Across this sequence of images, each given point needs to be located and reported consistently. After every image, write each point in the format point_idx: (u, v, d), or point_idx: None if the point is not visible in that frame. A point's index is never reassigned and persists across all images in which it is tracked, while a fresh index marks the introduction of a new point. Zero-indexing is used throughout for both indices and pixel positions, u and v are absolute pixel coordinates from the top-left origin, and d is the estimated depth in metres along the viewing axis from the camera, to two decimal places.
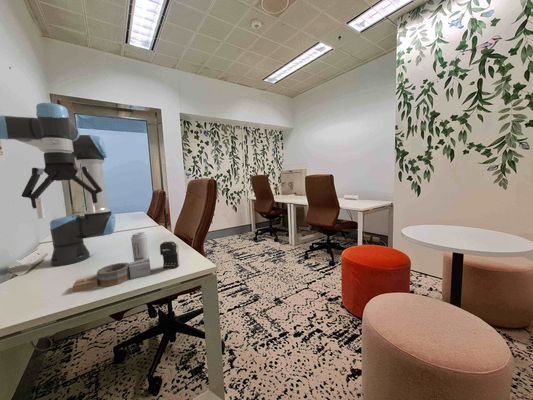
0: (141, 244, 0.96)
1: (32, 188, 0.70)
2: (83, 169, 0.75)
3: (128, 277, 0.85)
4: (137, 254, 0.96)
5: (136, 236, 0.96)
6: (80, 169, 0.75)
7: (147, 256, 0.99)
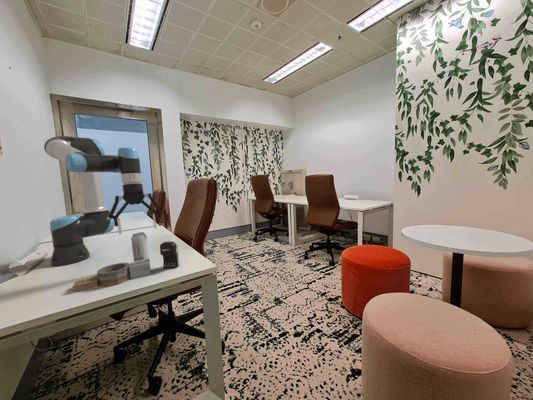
0: (141, 244, 0.96)
1: (114, 211, 0.93)
2: (149, 195, 0.98)
3: (128, 277, 0.85)
4: (137, 254, 0.96)
5: (136, 236, 0.96)
6: (147, 195, 0.98)
7: (147, 256, 0.99)
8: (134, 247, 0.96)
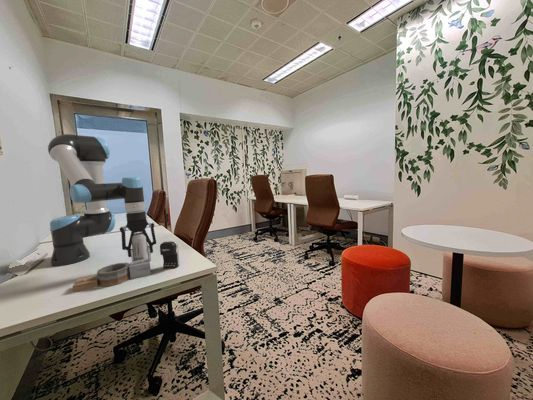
0: (141, 244, 0.96)
1: (125, 241, 0.96)
2: (152, 225, 0.99)
3: (128, 277, 0.85)
4: (137, 254, 0.96)
5: (136, 236, 0.96)
6: (149, 224, 1.00)
7: (147, 256, 0.99)
8: (134, 247, 0.96)
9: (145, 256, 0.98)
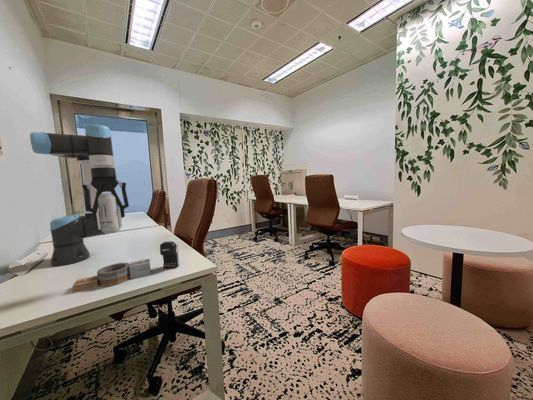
0: (109, 206, 0.81)
1: (90, 202, 0.81)
2: (123, 184, 0.85)
3: (128, 277, 0.85)
4: (104, 217, 0.81)
5: (103, 196, 0.81)
6: (120, 183, 0.85)
7: (117, 221, 0.84)
8: (100, 209, 0.81)
9: (114, 220, 0.83)
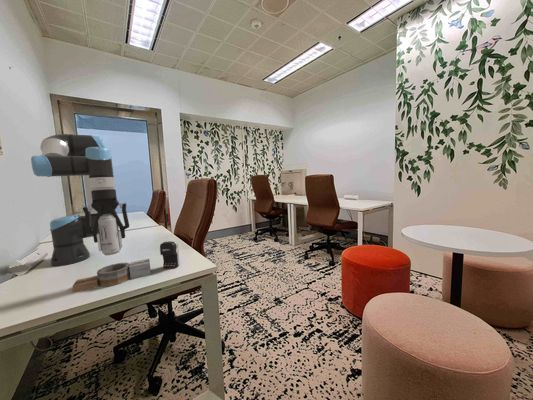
0: (109, 228, 0.81)
1: (90, 224, 0.81)
2: (123, 205, 0.84)
3: (128, 277, 0.85)
4: (104, 239, 0.81)
5: (103, 217, 0.81)
6: (120, 204, 0.85)
7: (117, 242, 0.84)
8: (101, 231, 0.81)
9: (115, 242, 0.83)
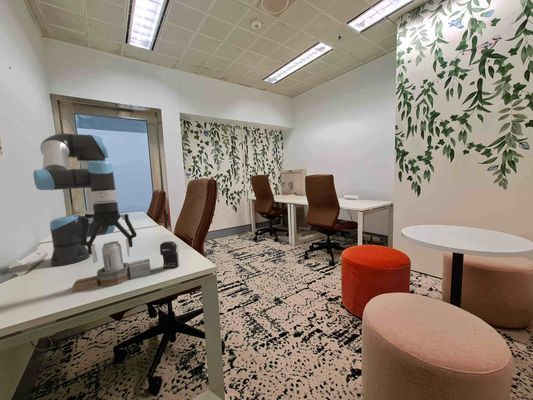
0: (113, 256, 0.82)
1: (87, 236, 0.81)
2: (125, 216, 0.85)
3: (128, 277, 0.85)
4: (108, 267, 0.82)
5: (107, 246, 0.82)
6: (122, 216, 0.85)
7: None
8: (105, 259, 0.82)
9: (118, 269, 0.84)
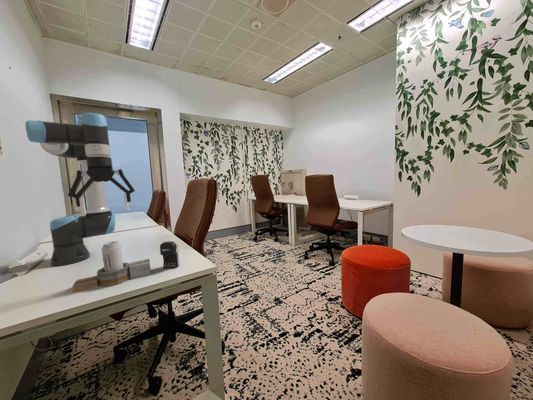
0: (113, 256, 0.82)
1: (76, 188, 0.79)
2: (119, 171, 0.84)
3: (128, 277, 0.85)
4: (108, 267, 0.82)
5: (107, 246, 0.82)
6: (117, 171, 0.84)
7: None
8: (105, 259, 0.82)
9: (118, 269, 0.84)
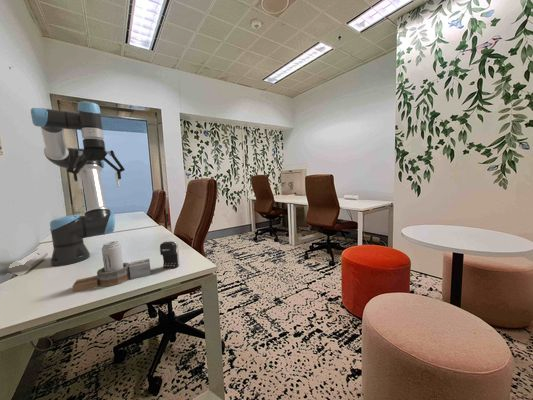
0: (113, 256, 0.82)
1: (74, 166, 0.93)
2: (111, 152, 0.98)
3: (128, 277, 0.85)
4: (108, 267, 0.82)
5: (107, 246, 0.82)
6: (109, 152, 0.98)
7: None
8: (105, 259, 0.82)
9: (118, 269, 0.84)
